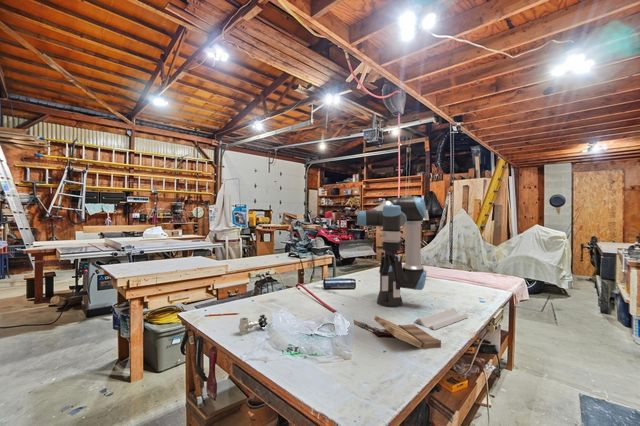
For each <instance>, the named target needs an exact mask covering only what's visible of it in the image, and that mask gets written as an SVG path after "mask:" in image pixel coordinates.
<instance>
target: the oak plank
mask: <svg viewBox="0 0 640 426" xmlns="http://www.w3.org/2000/svg"><path fill="white" fill-rule="evenodd" d="M373 320H374V321H375V322H376V323H377V324H379V325H380V326H381V327H382V328H384V329H385V331H387V332H388V333H390V334H391V335H392V336H394V337H395V338H396V339H399V340H400V341H403V342H406V343H408V344H410V345H413V346H414V347H418V348H420V349H422V347H421V345H422V343H421V342H420V341H419V340H417V339H416V338H414V337H413V336H412V335H410V334H409V333H408V332H406V331H405V330H403V329H402V328H401V327H399V326H398V325H399V324H396V323H394V322H391V321H390V320H387V319H385V318H383V317H380V316H379V315H375V317H374V318H373Z"/></svg>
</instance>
